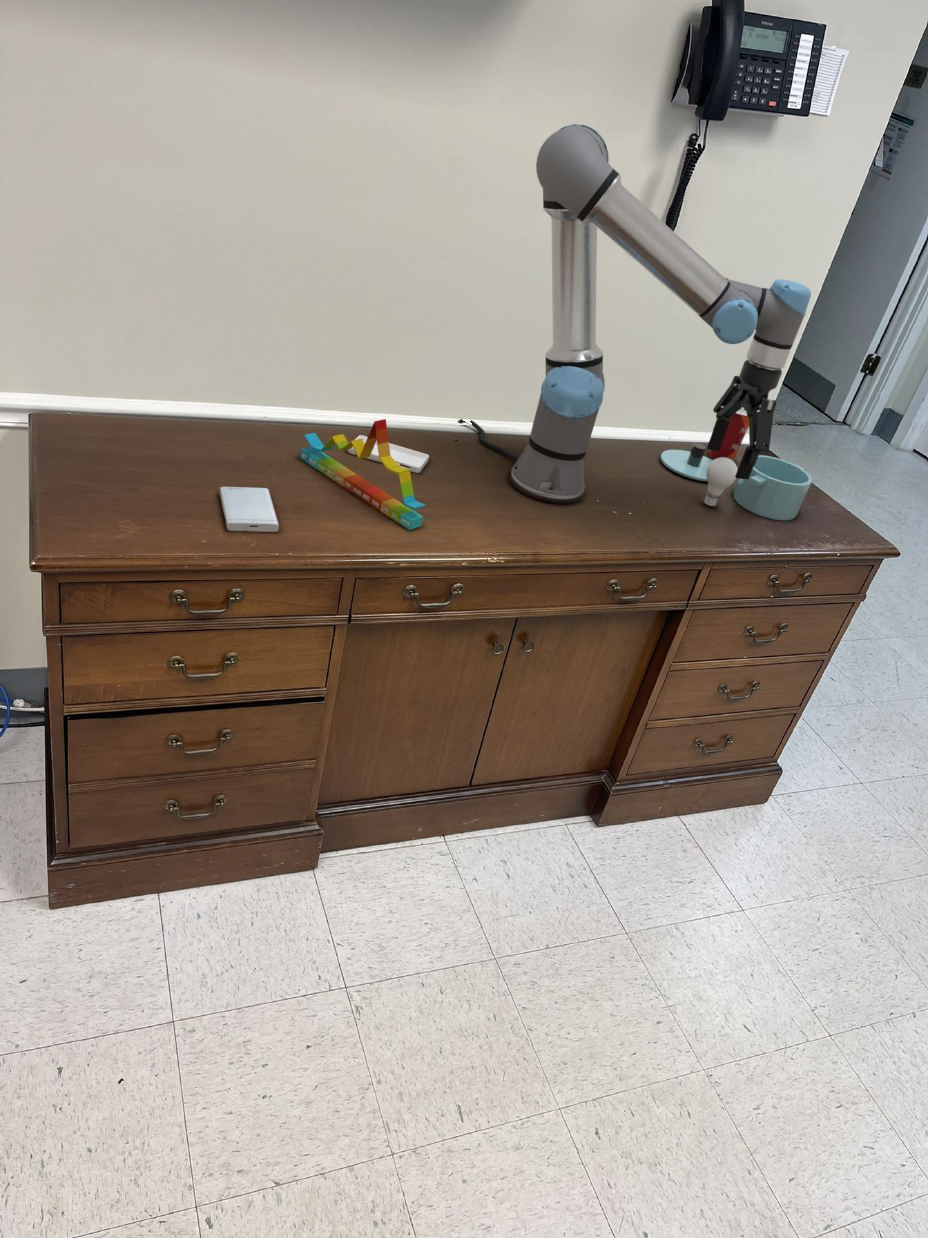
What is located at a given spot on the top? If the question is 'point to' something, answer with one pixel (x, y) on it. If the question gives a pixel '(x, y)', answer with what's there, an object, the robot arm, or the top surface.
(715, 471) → the lightbulb
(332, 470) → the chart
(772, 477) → the pot
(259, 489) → the hard drive
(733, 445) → the paper cup
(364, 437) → the phone case
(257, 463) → the top surface
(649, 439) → the top surface
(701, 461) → the lid
